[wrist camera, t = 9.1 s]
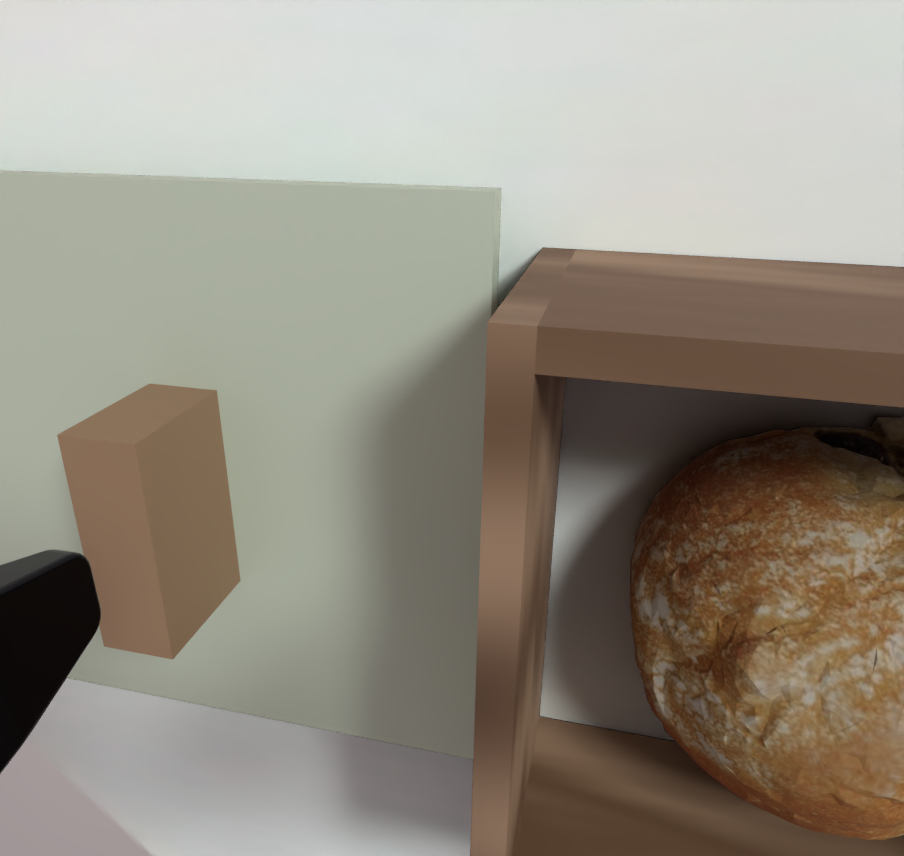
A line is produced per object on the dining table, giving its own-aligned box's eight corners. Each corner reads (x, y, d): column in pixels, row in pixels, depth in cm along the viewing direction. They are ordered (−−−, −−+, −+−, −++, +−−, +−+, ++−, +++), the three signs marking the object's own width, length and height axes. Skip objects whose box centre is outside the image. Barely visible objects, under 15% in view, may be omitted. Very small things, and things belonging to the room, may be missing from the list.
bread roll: (1004, 431, 21) (1229, 412, 13) (998, 809, 20) (1225, 1025, 13) (636, 419, 23) (636, 397, 15) (623, 757, 23) (617, 912, 15)
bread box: (1058, 835, 21) (1231, 1143, 15) (513, 730, 24) (467, 945, 18) (1324, 289, 15) (1819, 423, 9) (542, 247, 18) (487, 321, 12)
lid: (489, 712, 24) (449, 865, 19) (55, 631, 28) (-72, 744, 23) (510, 182, 18) (457, 212, 13) (-63, 163, 21) (-277, 180, 16)
